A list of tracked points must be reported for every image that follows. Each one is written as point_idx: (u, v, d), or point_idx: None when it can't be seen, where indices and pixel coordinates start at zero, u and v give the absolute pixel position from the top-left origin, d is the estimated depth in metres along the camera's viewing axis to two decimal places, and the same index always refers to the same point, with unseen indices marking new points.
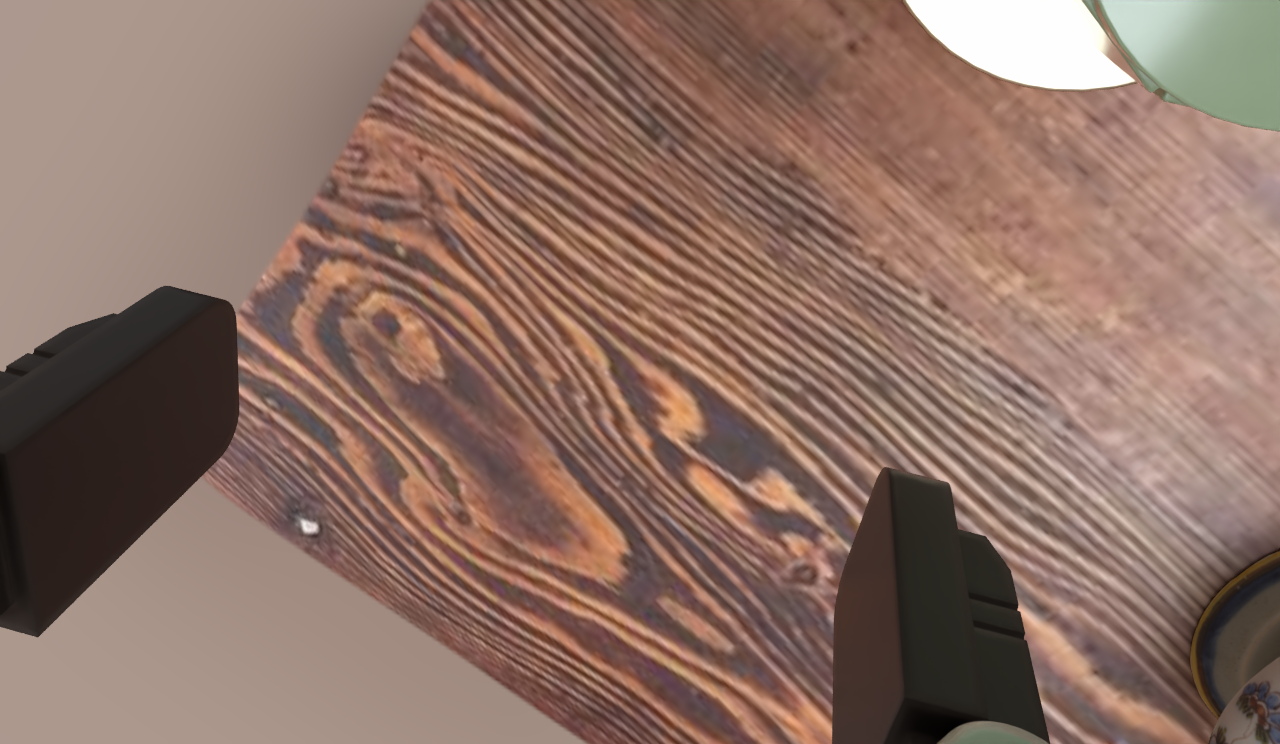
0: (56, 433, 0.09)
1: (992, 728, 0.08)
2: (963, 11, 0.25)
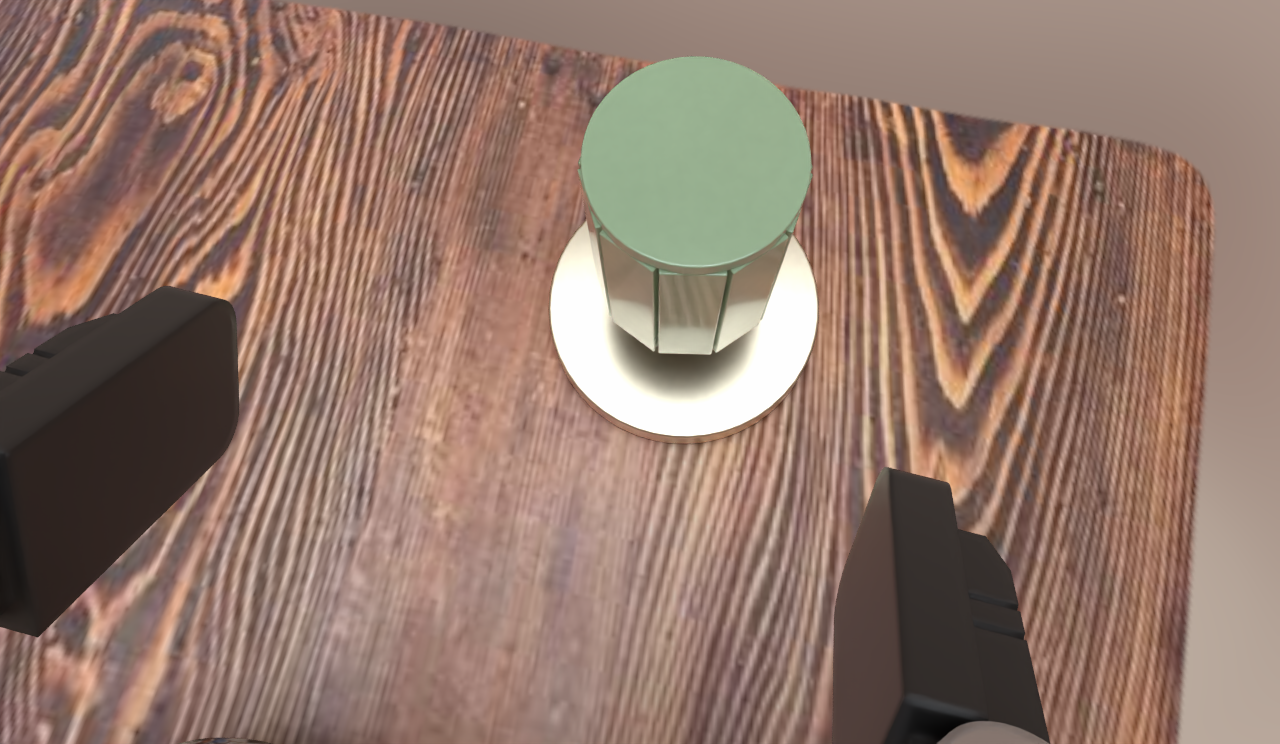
0: (55, 433, 0.09)
1: (992, 728, 0.08)
2: (574, 283, 0.40)
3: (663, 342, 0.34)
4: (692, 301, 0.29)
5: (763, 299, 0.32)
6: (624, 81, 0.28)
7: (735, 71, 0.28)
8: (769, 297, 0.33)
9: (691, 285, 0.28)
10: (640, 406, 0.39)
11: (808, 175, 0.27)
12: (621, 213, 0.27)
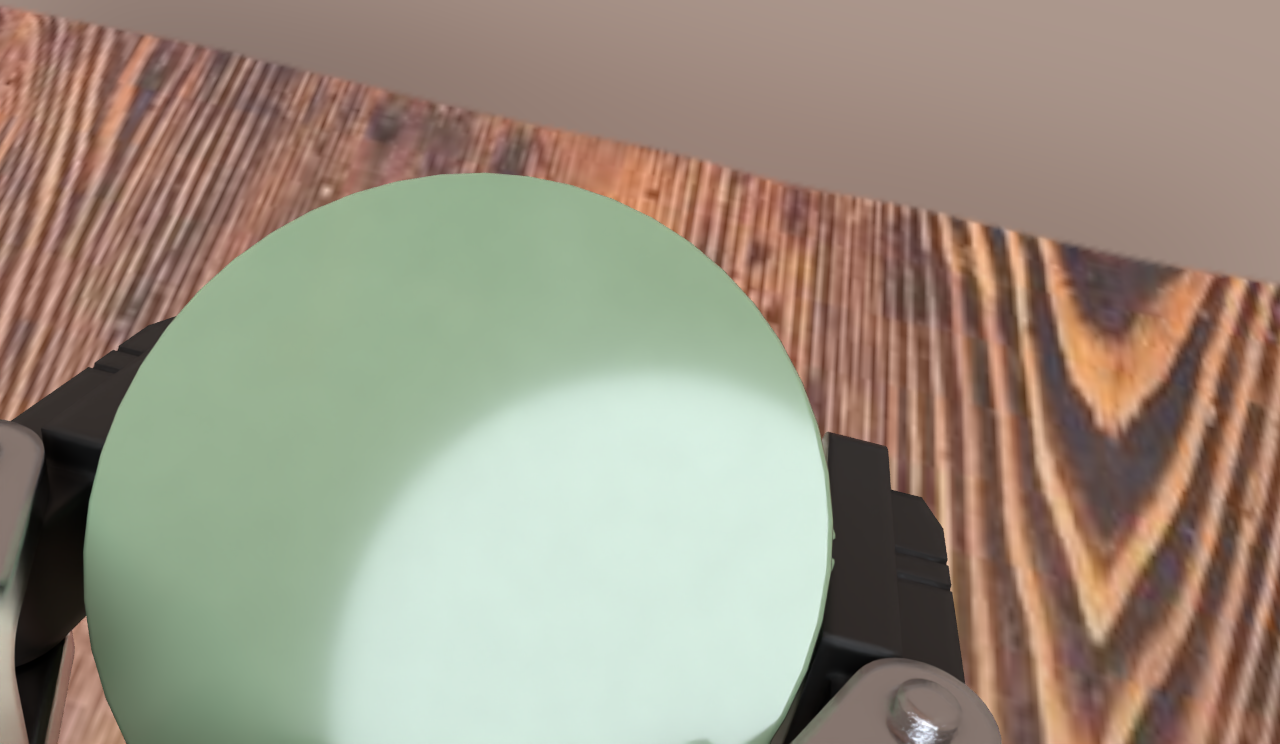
0: None
1: (903, 664, 0.08)
2: None
3: None
4: None
5: None
6: (270, 240, 0.09)
7: (612, 226, 0.09)
8: None
9: None
10: None
11: (822, 589, 0.08)
12: (186, 697, 0.08)
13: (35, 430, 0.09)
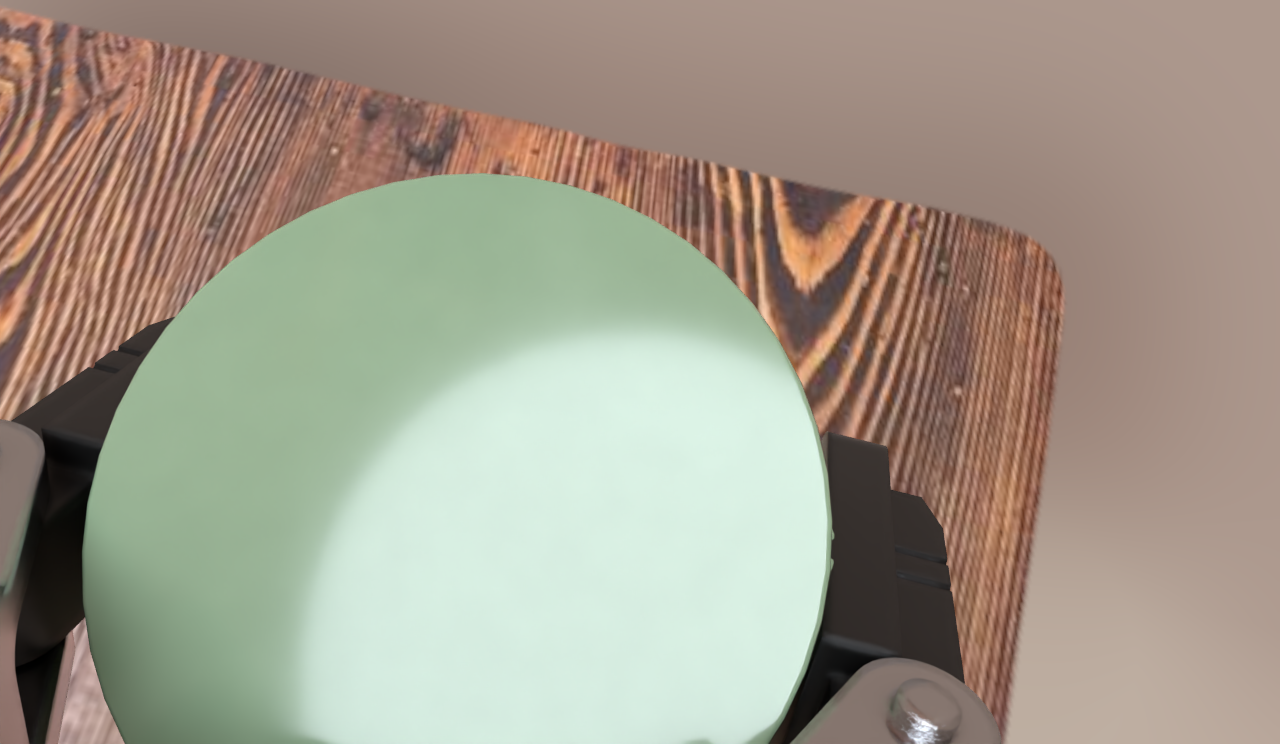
0: None
1: (902, 663, 0.08)
2: None
3: None
4: None
5: None
6: (269, 241, 0.09)
7: (611, 227, 0.09)
8: None
9: None
10: None
11: (820, 592, 0.08)
12: (185, 698, 0.08)
13: (35, 430, 0.09)
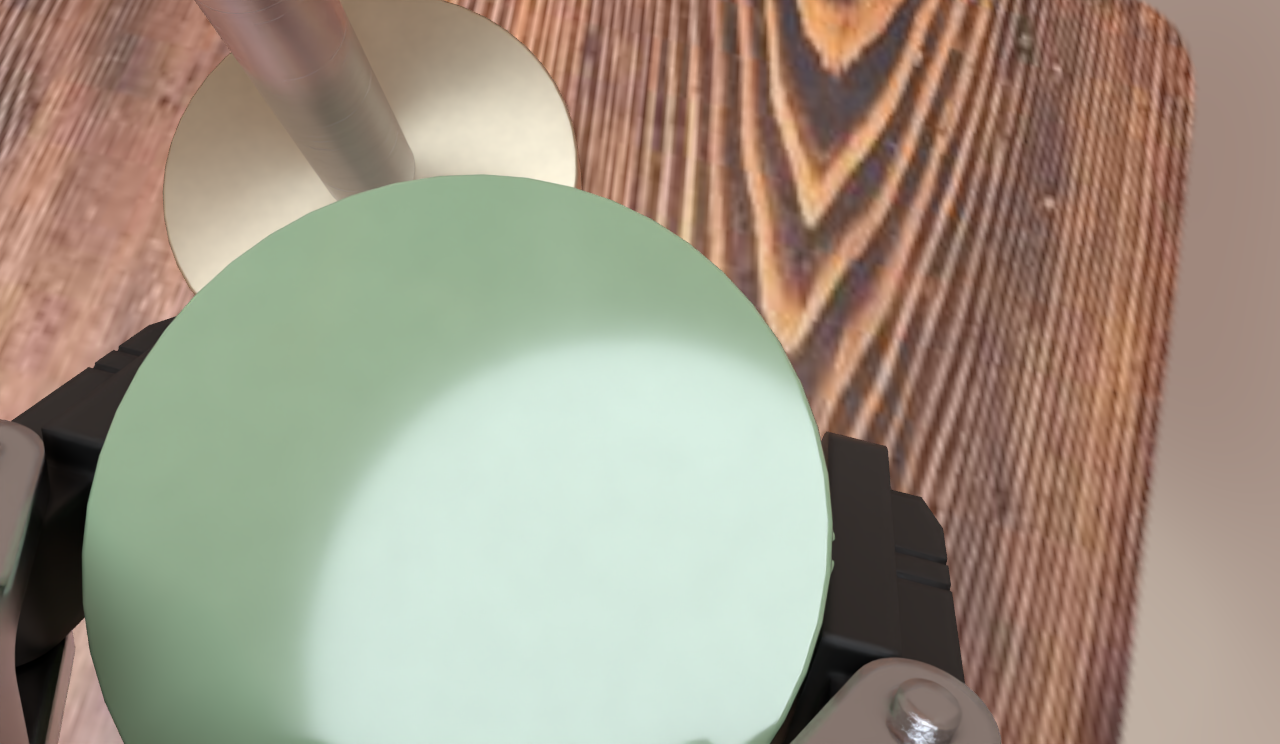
0: None
1: (903, 663, 0.08)
2: (209, 133, 0.26)
3: None
4: None
5: None
6: (269, 242, 0.09)
7: (611, 228, 0.09)
8: None
9: None
10: None
11: (821, 593, 0.08)
12: (185, 700, 0.08)
13: (36, 430, 0.09)
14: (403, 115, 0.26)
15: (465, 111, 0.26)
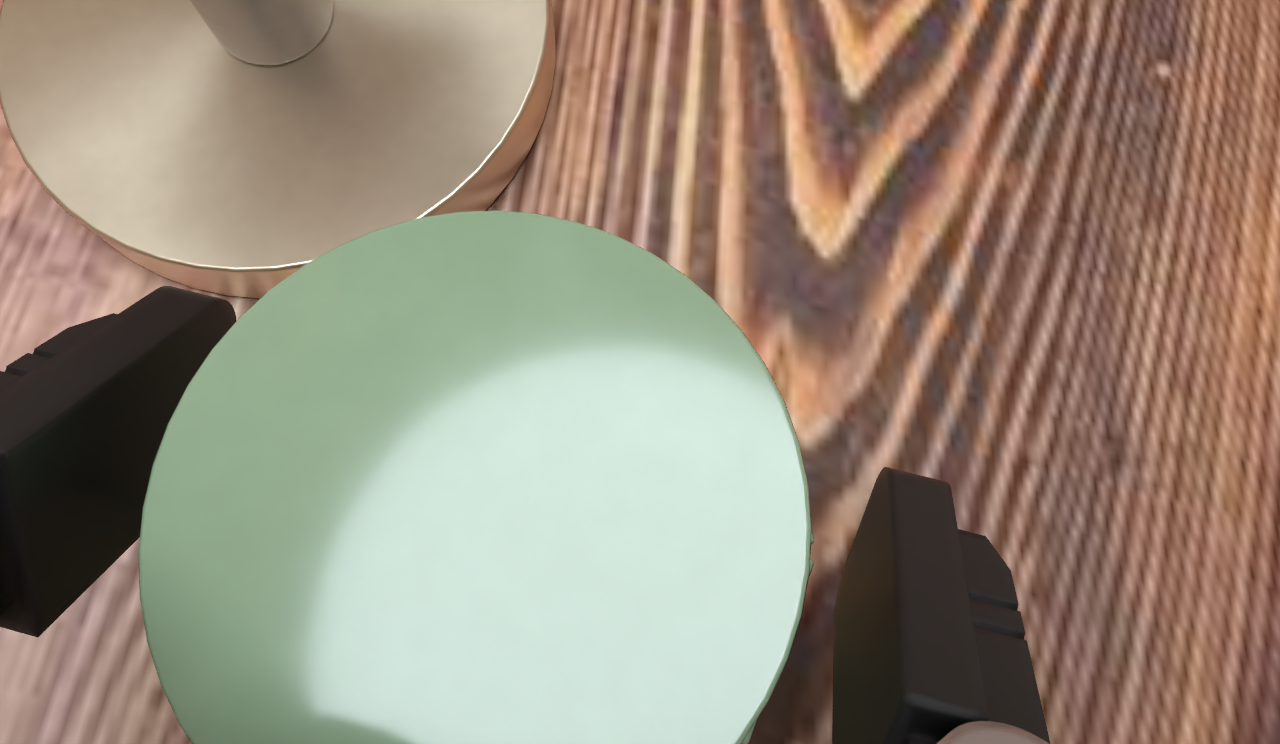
0: (55, 433, 0.09)
1: (993, 728, 0.08)
2: None
3: None
4: None
5: None
6: (304, 271, 0.10)
7: (614, 260, 0.10)
8: None
9: None
10: (145, 205, 0.18)
11: (801, 588, 0.09)
12: (233, 683, 0.09)
13: None
14: None
15: None
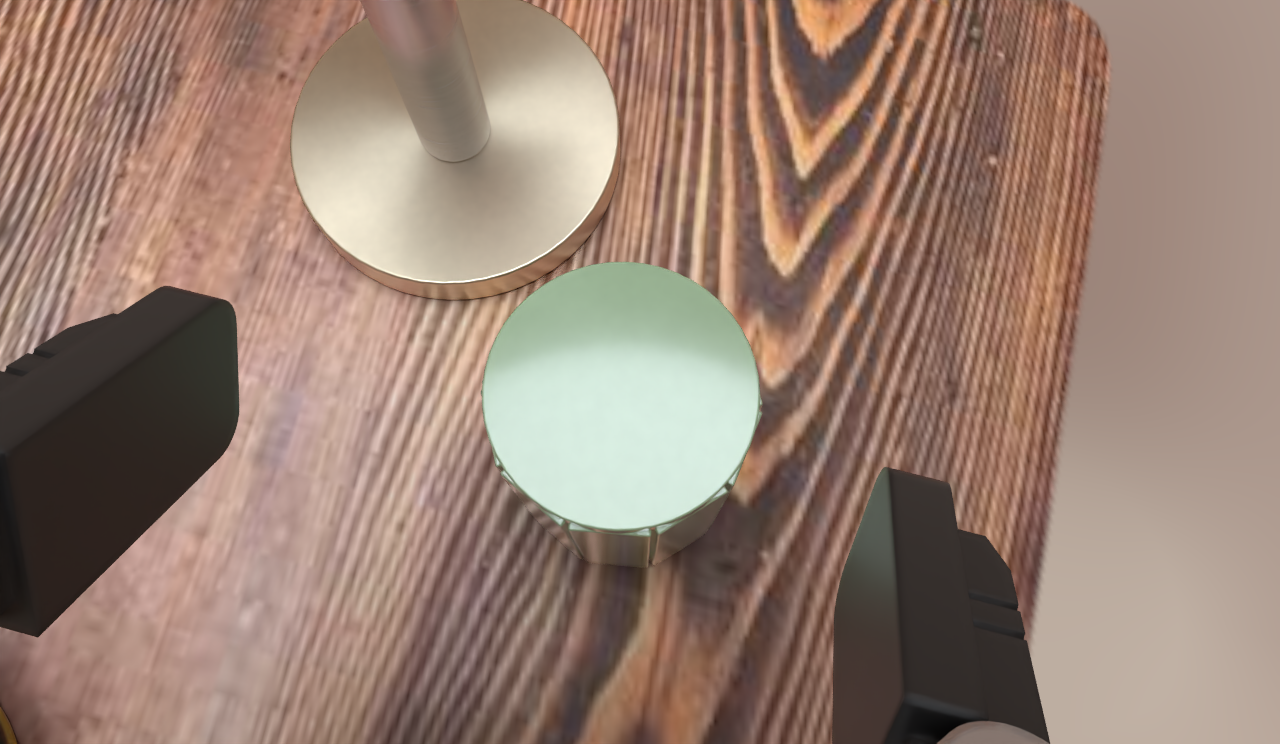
0: (56, 433, 0.09)
1: (992, 728, 0.08)
2: (325, 100, 0.33)
3: (590, 558, 0.29)
4: (613, 544, 0.25)
5: (706, 525, 0.27)
6: (542, 288, 0.23)
7: (676, 283, 0.23)
8: (714, 518, 0.28)
9: (609, 537, 0.23)
10: (386, 245, 0.32)
11: (755, 419, 0.22)
12: (525, 455, 0.22)
13: None
14: (480, 87, 0.33)
15: (529, 84, 0.33)
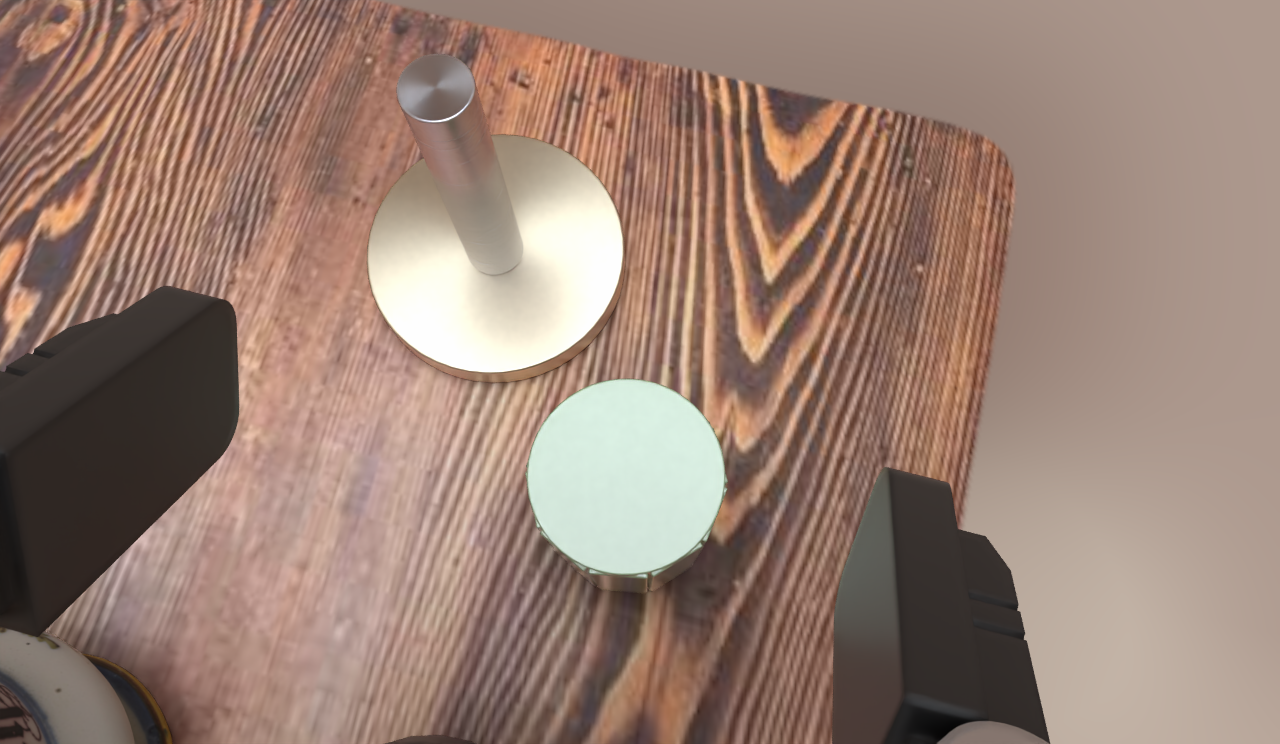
0: (56, 433, 0.09)
1: (992, 728, 0.08)
2: (393, 225, 0.42)
3: (602, 587, 0.38)
4: (621, 581, 0.34)
5: (690, 563, 0.36)
6: (569, 398, 0.32)
7: (665, 394, 0.32)
8: (696, 557, 0.37)
9: (617, 577, 0.32)
10: (443, 342, 0.41)
11: (721, 494, 0.31)
12: (558, 521, 0.31)
13: None
14: (514, 214, 0.42)
15: (553, 211, 0.42)
